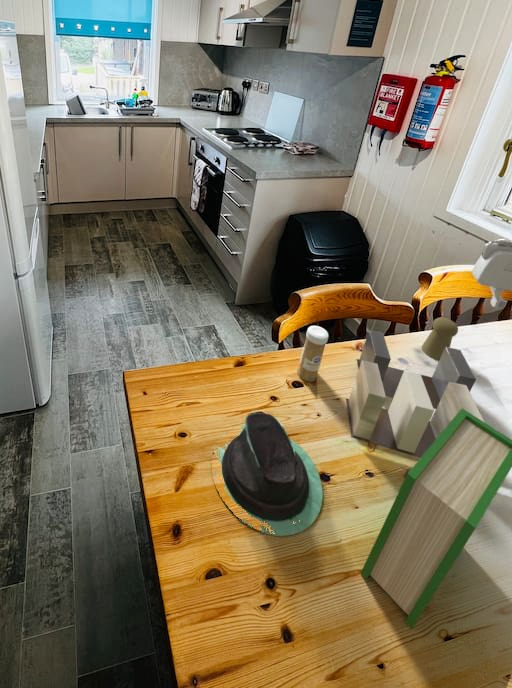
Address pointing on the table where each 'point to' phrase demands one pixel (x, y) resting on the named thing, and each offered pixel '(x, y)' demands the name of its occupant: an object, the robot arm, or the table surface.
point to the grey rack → (446, 371)
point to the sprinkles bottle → (312, 353)
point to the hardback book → (438, 511)
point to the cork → (439, 337)
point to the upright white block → (410, 411)
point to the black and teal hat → (271, 476)
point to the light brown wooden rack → (374, 420)
